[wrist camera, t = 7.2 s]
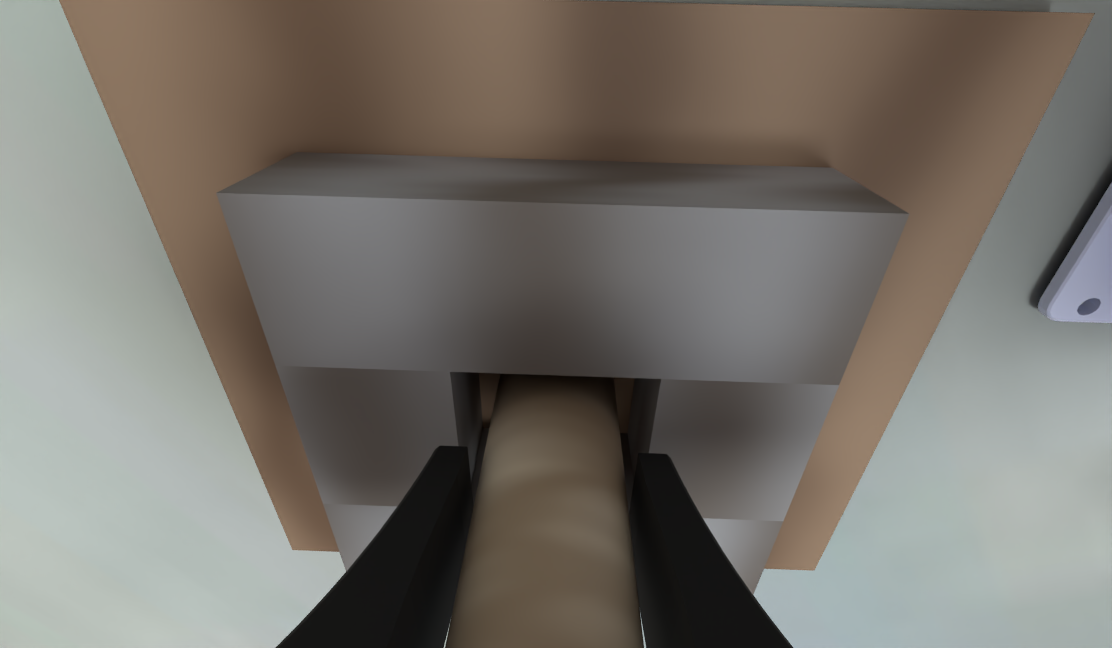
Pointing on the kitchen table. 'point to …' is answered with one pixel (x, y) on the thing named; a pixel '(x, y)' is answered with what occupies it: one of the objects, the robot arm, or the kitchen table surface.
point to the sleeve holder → (570, 226)
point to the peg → (550, 524)
